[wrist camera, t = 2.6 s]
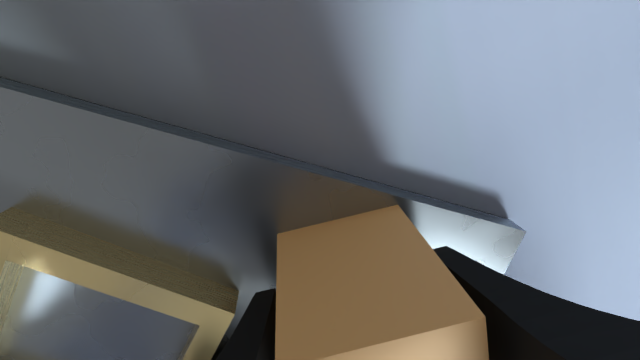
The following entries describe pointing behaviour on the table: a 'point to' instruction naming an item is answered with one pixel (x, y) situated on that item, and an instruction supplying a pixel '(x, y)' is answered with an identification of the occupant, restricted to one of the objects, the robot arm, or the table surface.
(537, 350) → the robot arm
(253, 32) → the table surface
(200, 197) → the shaft bench
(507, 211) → the table surface
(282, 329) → the tan rectangular block
